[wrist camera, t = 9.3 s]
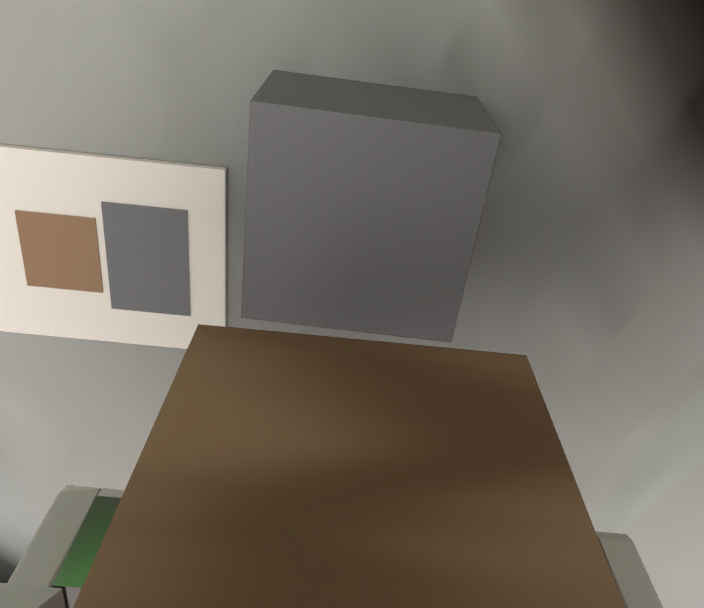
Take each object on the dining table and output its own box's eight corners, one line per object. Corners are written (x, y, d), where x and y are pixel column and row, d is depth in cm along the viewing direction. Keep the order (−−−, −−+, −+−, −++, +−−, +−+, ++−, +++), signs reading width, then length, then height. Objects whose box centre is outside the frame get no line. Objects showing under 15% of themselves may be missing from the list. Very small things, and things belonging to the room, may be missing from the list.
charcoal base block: (475, 96, 22) (501, 133, 18) (437, 274, 26) (451, 342, 21) (274, 69, 22) (250, 100, 17) (263, 253, 25) (241, 317, 21)
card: (226, 167, 23) (224, 170, 23) (226, 348, 27) (224, 353, 27) (-50, 138, 23) (-56, 142, 23) (-10, 325, 27) (-15, 330, 27)
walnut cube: (526, 355, 10) (656, 687, 5) (465, 571, 12) (520, 919, 8) (198, 323, 10) (59, 640, 5) (203, 549, 12) (111, 891, 8)
